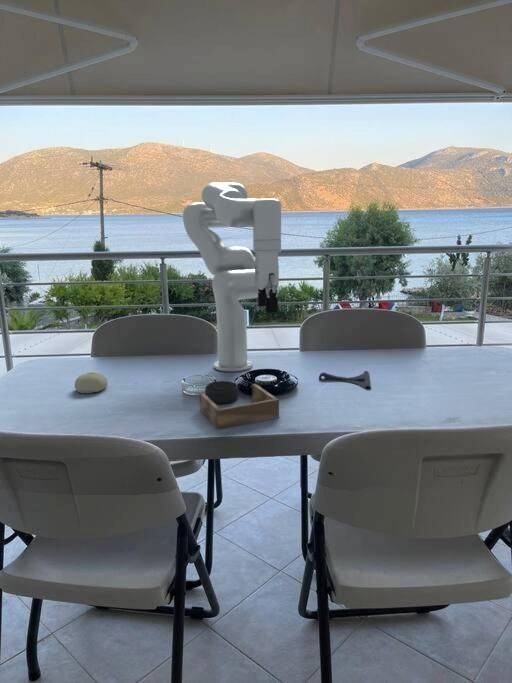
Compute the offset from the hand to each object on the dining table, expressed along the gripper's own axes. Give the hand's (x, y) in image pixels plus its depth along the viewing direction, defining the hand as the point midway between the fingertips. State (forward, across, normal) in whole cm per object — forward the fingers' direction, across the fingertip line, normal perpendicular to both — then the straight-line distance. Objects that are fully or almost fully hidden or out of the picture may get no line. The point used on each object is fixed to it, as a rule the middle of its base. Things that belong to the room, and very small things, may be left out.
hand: (267, 309), depth 134 cm
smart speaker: (+23, +7, -14) cm, 28 cm away
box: (+22, +18, -12) cm, 31 cm away
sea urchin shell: (+23, -10, -50) cm, 56 cm away
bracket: (+23, +1, +23) cm, 33 cm away
